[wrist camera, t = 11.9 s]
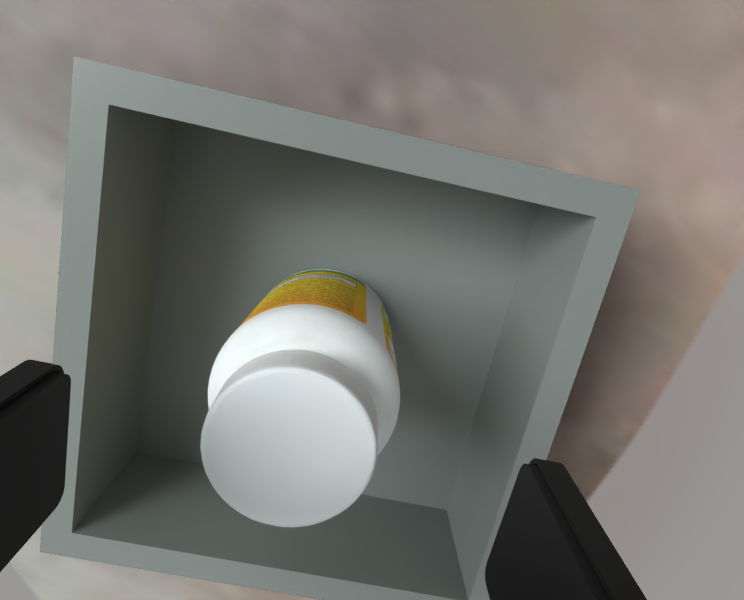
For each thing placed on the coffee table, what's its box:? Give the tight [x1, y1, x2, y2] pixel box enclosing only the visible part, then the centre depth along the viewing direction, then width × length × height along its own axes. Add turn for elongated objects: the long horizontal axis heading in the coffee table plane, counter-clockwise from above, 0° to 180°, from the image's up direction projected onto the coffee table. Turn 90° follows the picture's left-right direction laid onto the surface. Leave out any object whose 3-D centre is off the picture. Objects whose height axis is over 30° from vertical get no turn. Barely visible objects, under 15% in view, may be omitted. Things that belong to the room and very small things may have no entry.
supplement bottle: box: [200, 269, 400, 527], centre depth 16 cm, size 5×5×10 cm
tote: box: [40, 56, 640, 600], centre depth 19 cm, size 16×16×6 cm
